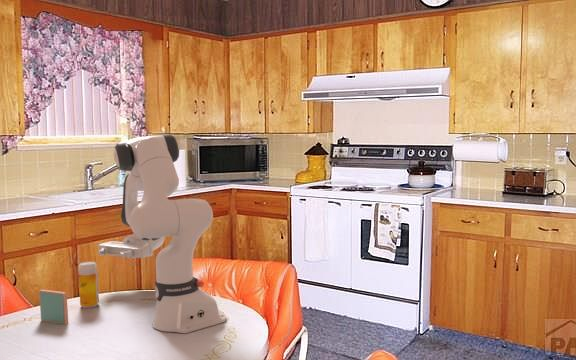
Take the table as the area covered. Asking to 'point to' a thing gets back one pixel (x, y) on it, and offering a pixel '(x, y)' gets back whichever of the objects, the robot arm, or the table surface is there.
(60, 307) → the tile
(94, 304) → the beer can
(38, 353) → the table surface
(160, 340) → the table surface
